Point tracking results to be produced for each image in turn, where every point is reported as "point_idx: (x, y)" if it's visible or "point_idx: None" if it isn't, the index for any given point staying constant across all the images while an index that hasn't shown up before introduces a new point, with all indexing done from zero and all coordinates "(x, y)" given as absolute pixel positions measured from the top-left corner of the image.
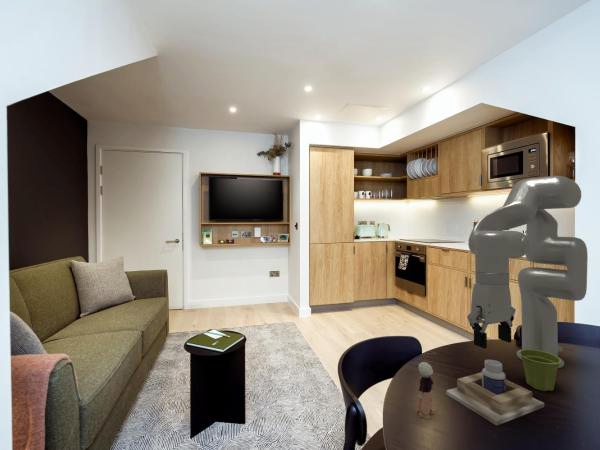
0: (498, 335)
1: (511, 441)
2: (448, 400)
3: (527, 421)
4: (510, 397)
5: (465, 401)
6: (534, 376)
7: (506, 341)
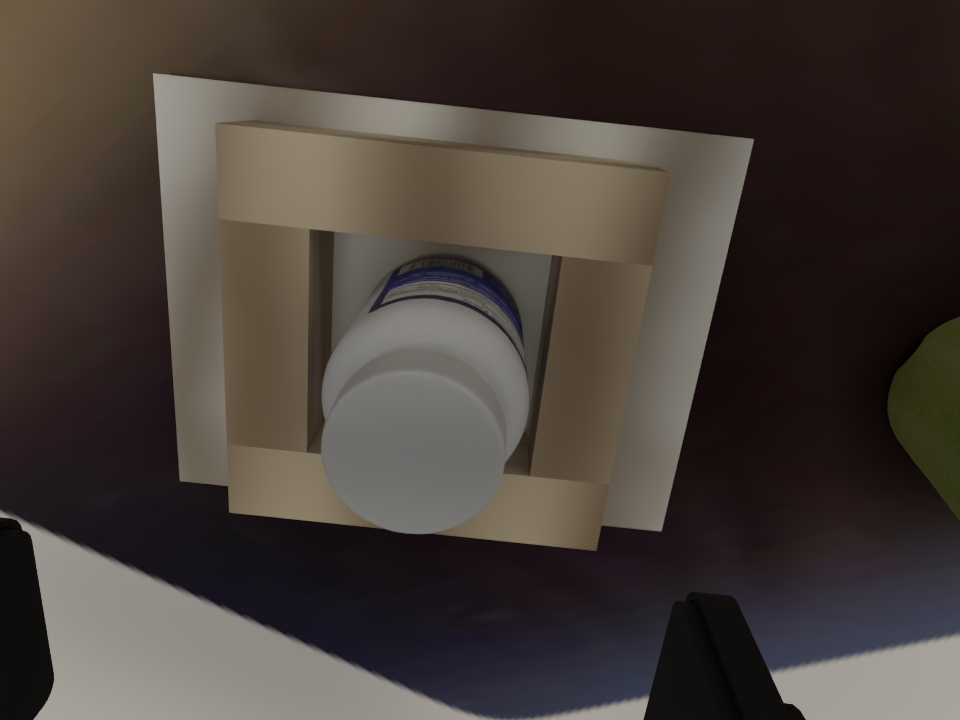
0: (695, 647)
1: (149, 558)
2: (117, 147)
3: None
4: None
5: (175, 262)
6: (933, 443)
7: (646, 717)
